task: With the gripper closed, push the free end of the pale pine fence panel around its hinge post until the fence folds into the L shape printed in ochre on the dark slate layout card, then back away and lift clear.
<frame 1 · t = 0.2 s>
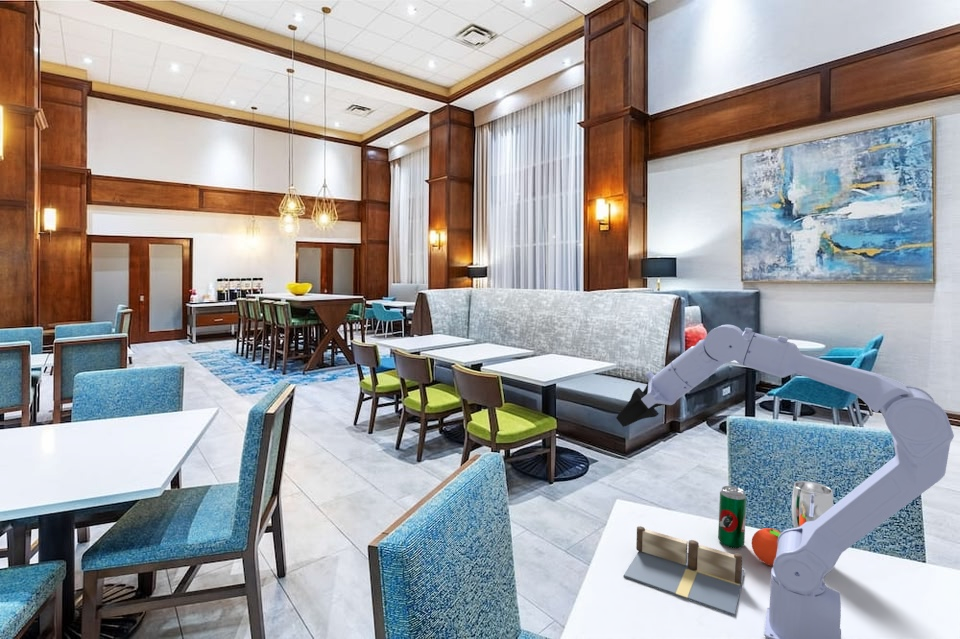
hand: (626, 416, 91), 31 cm above the table, tool tilted 45°, fingers open, 7 cm apart
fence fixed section: (692, 569, 94), resting on layout card
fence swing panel: (660, 545, 97), point 3 cm above the table, hinge at 0.0°
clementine: (772, 565, 95), on the table
layout card: (684, 574, 92), on the table
soda can: (730, 544, 103), on the table
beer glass: (808, 558, 98), on the table
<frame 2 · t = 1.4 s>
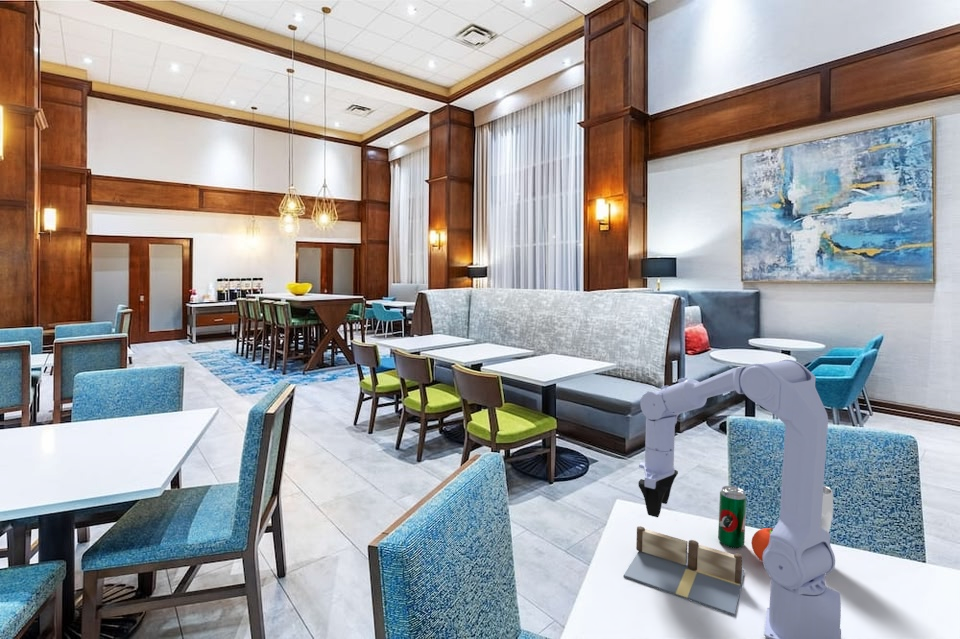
hand: (657, 508, 101), 8 cm above the table, tool pointing down, fingers open, 6 cm apart
nothing on the table moved.
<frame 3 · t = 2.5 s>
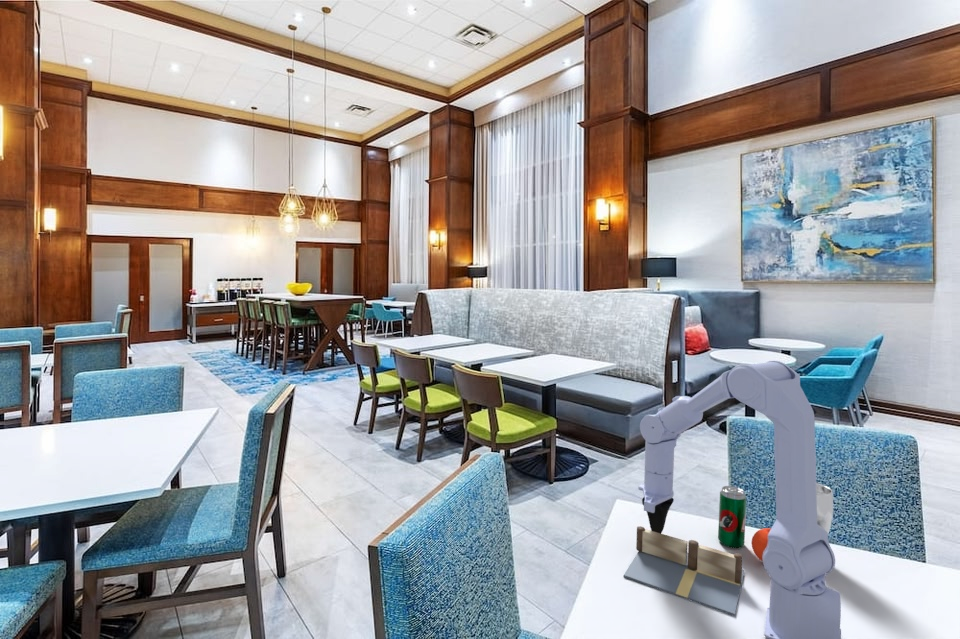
hand: (656, 531, 102), 3 cm above the table, tool pointing down, fingers closed
nothing on the table moved.
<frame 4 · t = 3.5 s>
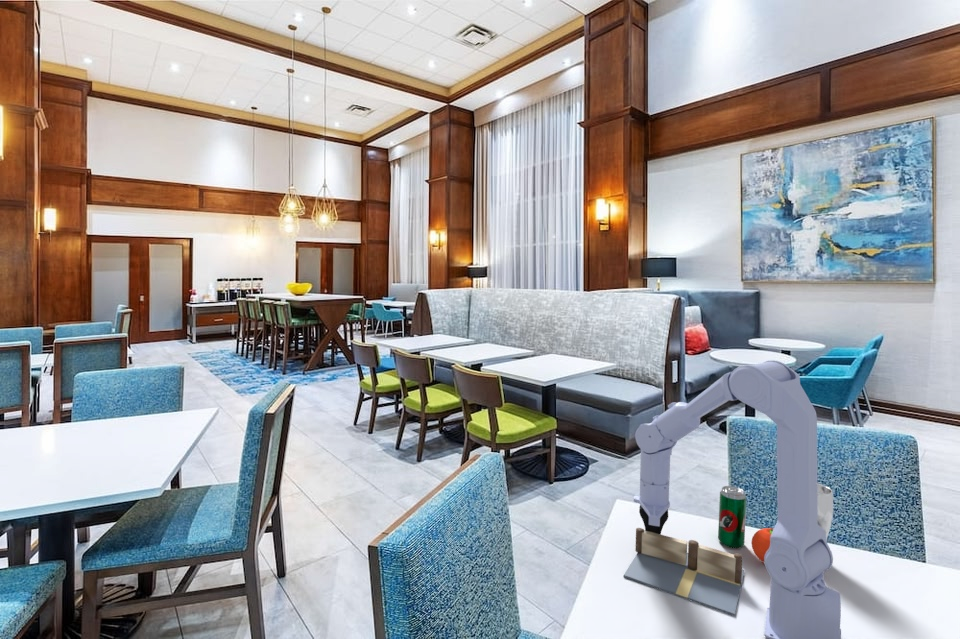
hand: (652, 542, 99), 2 cm above the table, tool pointing down, fingers closed
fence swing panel: (660, 545, 97), point 3 cm above the table, hinge at 3.9°, touching gripper
everything else where it was.
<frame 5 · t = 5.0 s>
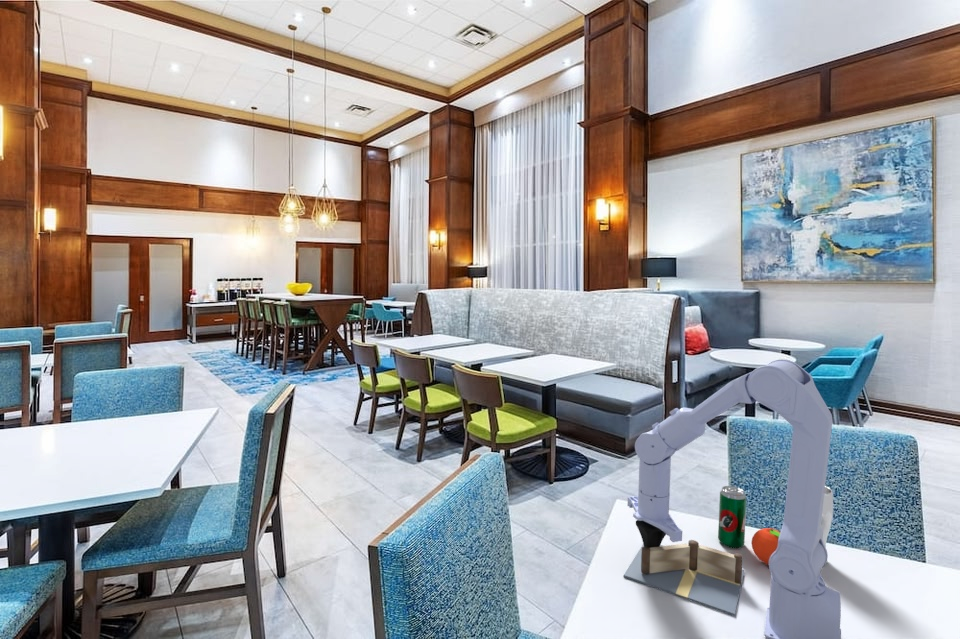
hand: (651, 557, 94), 2 cm above the table, tool pointing down, fingers closed
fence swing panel: (664, 558, 92), point 3 cm above the table, hinge at 45.4°, touching gripper
everything else where it was.
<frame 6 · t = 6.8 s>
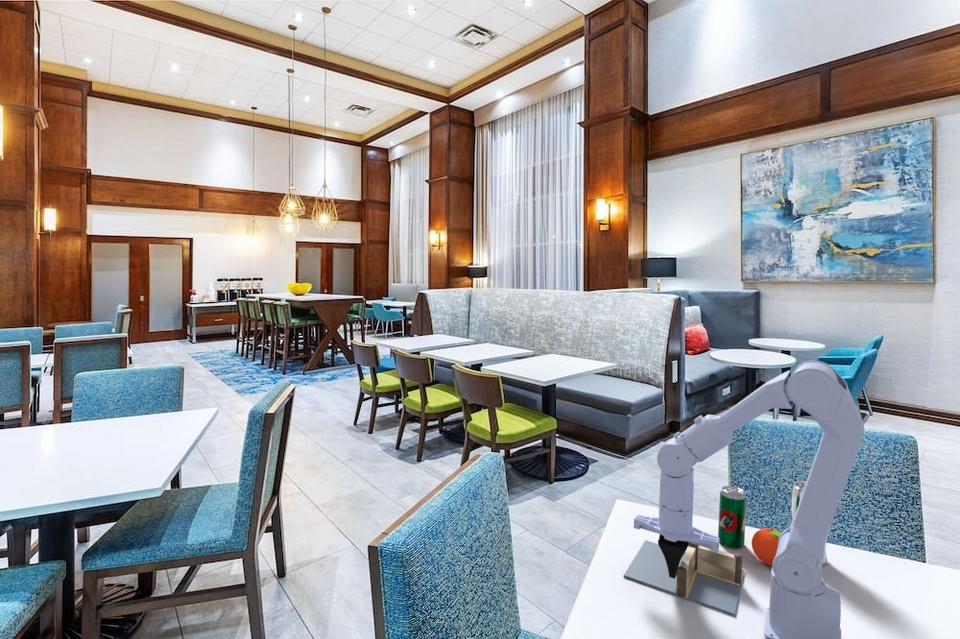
hand: (673, 575, 88), 2 cm above the table, tool pointing down, fingers closed
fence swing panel: (686, 570, 88), point 3 cm above the table, hinge at 89.7°, touching gripper
everything else where it was.
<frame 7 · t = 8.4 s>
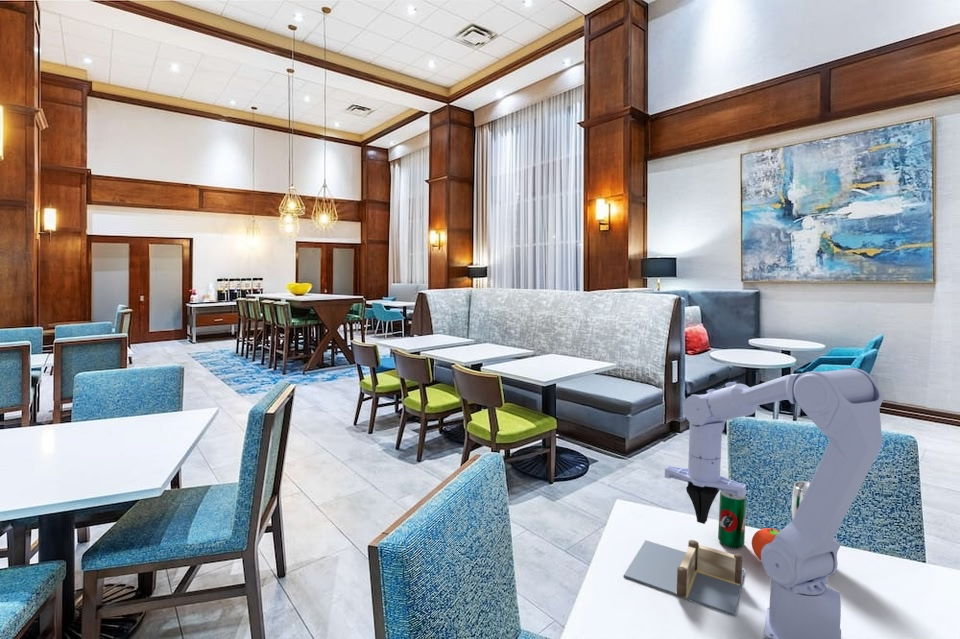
hand: (702, 521, 94), 9 cm above the table, tool pointing down, fingers closed
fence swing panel: (686, 570, 88), point 3 cm above the table, hinge at 89.9°
everything else where it was.
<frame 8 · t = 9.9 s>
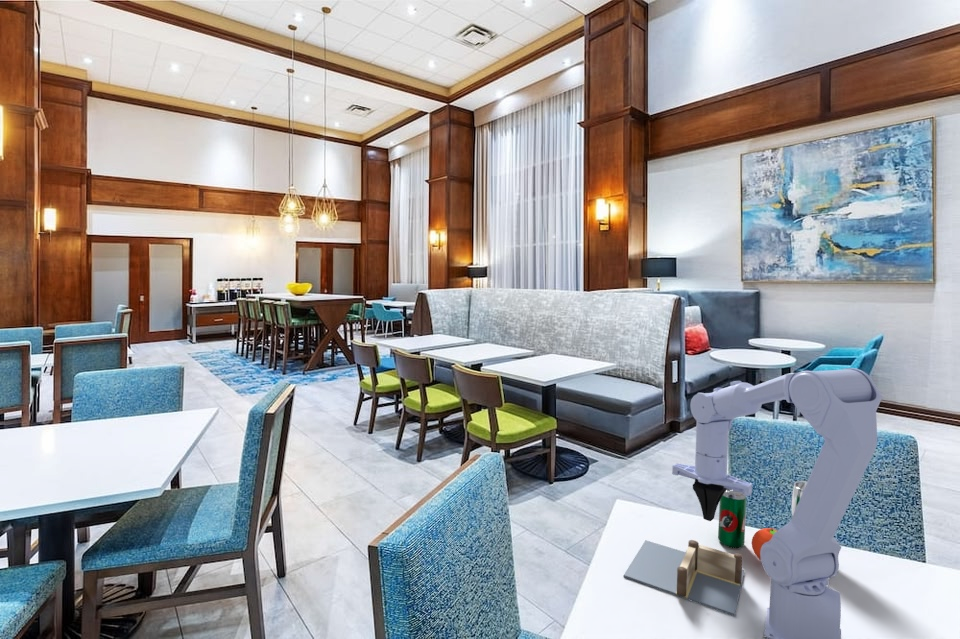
hand: (708, 518, 95), 9 cm above the table, tool pointing down, fingers closed
nothing on the table moved.
at the end: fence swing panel at +90° (first picture: +0°) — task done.
